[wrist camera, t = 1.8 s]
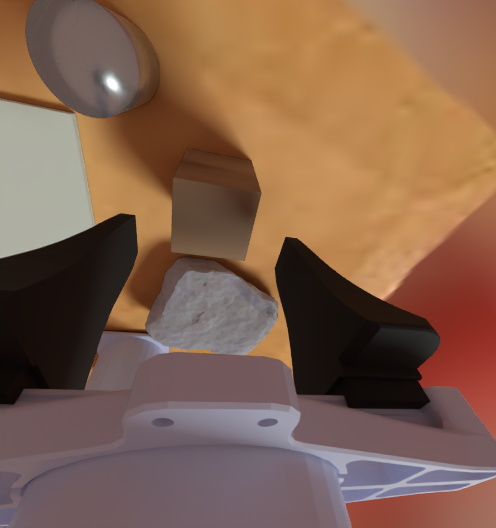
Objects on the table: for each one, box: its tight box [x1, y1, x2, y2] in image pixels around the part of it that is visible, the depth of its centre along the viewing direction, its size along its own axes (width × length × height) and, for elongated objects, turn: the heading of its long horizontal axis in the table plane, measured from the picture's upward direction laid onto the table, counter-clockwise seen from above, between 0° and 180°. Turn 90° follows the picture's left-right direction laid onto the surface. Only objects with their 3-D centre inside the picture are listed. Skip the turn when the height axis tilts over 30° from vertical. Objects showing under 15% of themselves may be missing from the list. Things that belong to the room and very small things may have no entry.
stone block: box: [145, 258, 279, 355], centre depth 25 cm, size 12×5×10 cm
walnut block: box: [171, 148, 261, 261], centre depth 16 cm, size 4×4×6 cm
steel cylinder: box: [26, 0, 160, 118], centre depth 12 cm, size 4×4×5 cm
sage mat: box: [0, 98, 95, 258], centre depth 19 cm, size 18×10×1 cm, turn 168°
